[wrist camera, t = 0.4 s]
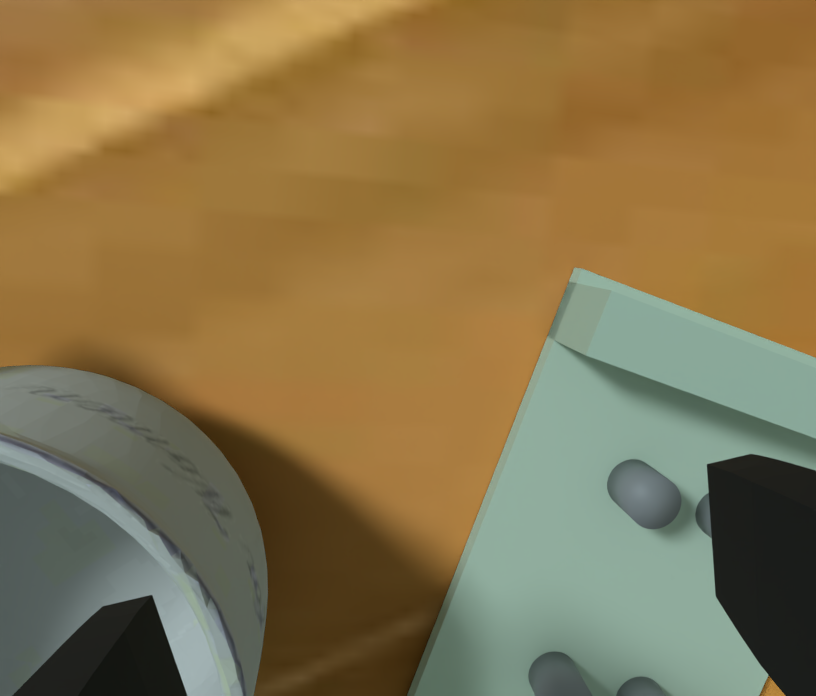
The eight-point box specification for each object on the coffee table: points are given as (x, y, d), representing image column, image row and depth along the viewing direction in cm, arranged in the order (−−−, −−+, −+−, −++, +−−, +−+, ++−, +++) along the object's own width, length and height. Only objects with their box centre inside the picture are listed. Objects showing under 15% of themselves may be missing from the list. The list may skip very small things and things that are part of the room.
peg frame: (671, 853, 23) (721, 945, 20) (374, 779, 21) (381, 867, 18) (882, 385, 21) (973, 410, 18) (574, 267, 19) (618, 273, 17)
